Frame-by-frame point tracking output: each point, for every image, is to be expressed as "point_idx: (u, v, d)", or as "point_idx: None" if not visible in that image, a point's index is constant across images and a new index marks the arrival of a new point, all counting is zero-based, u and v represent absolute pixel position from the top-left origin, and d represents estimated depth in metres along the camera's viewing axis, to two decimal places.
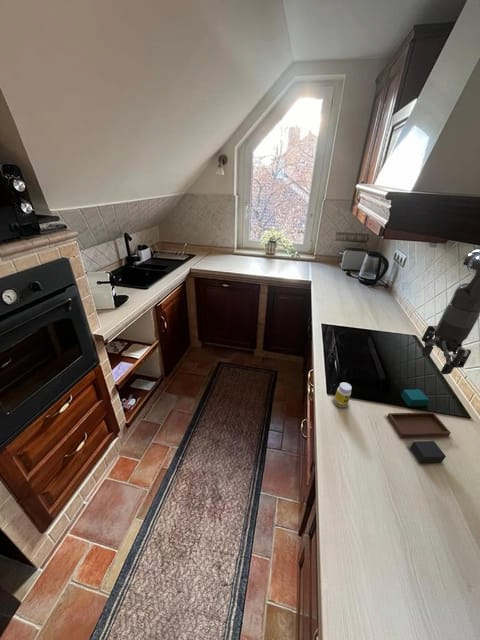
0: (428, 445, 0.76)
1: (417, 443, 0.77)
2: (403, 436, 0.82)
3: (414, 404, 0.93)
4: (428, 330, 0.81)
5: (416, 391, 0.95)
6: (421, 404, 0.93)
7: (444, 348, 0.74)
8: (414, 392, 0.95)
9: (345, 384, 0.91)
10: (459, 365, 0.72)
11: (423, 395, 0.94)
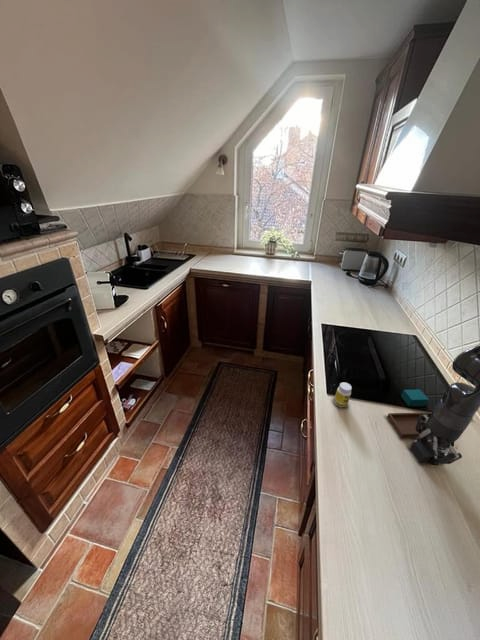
0: (428, 445, 0.76)
1: (417, 443, 0.77)
2: (403, 436, 0.82)
3: (414, 404, 0.93)
4: (420, 419, 0.77)
5: (416, 391, 0.95)
6: (421, 404, 0.93)
7: (435, 443, 0.71)
8: (414, 392, 0.95)
9: (345, 384, 0.91)
10: (446, 462, 0.70)
11: (423, 395, 0.94)
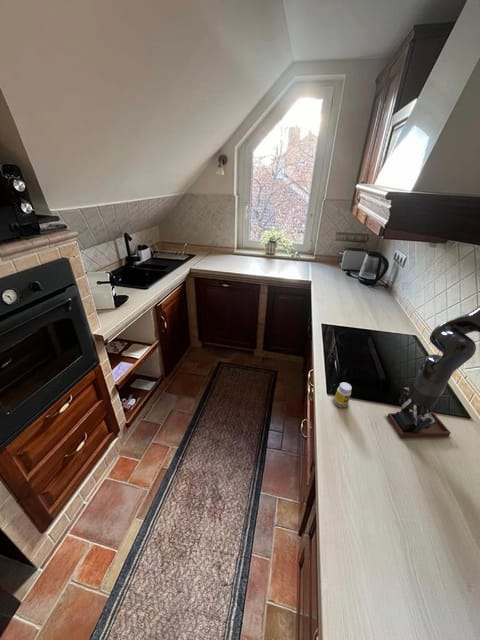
0: (409, 415, 0.84)
1: (400, 413, 0.85)
2: (403, 436, 0.82)
3: None
4: (402, 392, 0.85)
5: None
6: None
7: (414, 410, 0.79)
8: None
9: (345, 384, 0.91)
10: (424, 428, 0.77)
11: None
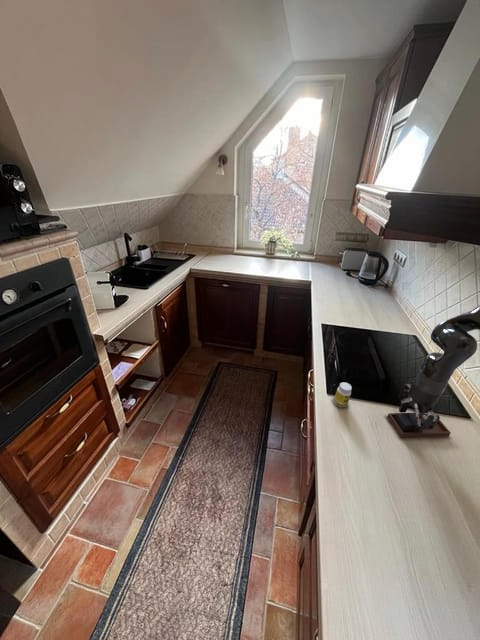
0: (409, 416, 0.84)
1: (399, 414, 0.85)
2: (403, 436, 0.82)
3: None
4: (403, 388, 0.85)
5: None
6: None
7: (416, 409, 0.78)
8: None
9: (345, 384, 0.91)
10: (429, 428, 0.76)
11: None
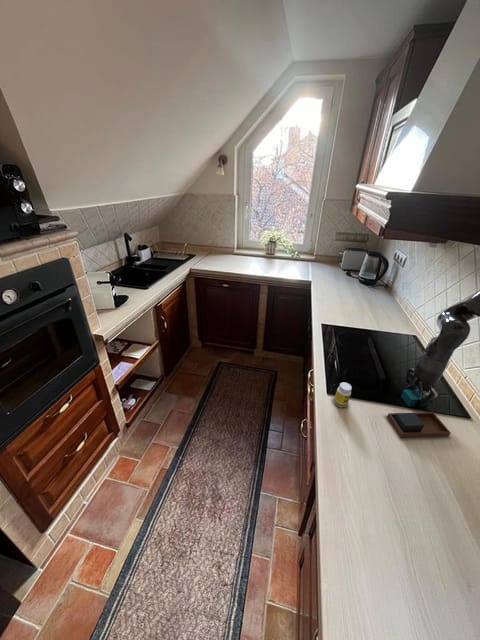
0: (409, 416, 0.84)
1: (399, 414, 0.85)
2: (403, 436, 0.82)
3: (414, 404, 0.93)
4: (408, 372, 0.96)
5: (416, 391, 0.95)
6: None
7: (420, 387, 0.90)
8: (414, 392, 0.95)
9: (345, 384, 0.91)
10: (428, 402, 0.88)
11: (423, 395, 0.94)
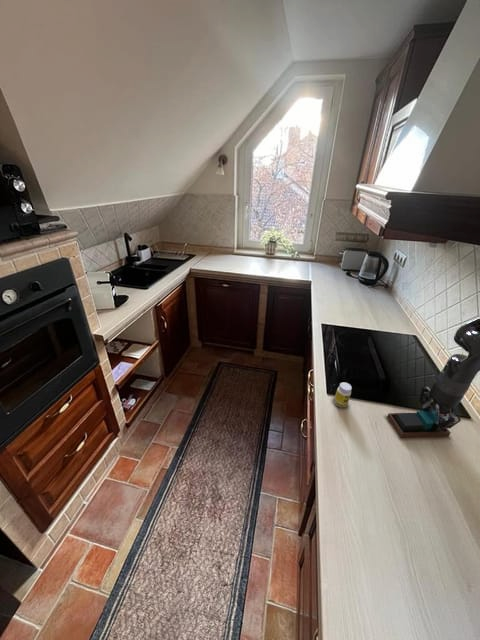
0: (409, 416, 0.84)
1: (399, 414, 0.85)
2: (403, 436, 0.82)
3: (429, 428, 0.83)
4: (423, 391, 0.86)
5: (431, 413, 0.85)
6: None
7: (437, 410, 0.79)
8: (429, 414, 0.84)
9: (345, 384, 0.91)
10: (447, 427, 0.78)
11: None
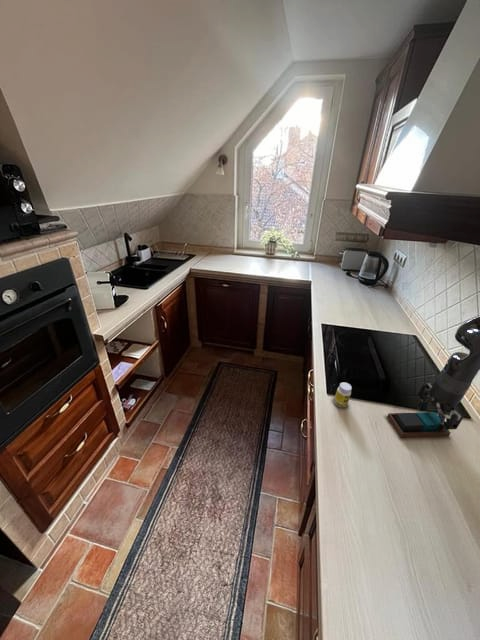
0: (409, 416, 0.84)
1: (399, 414, 0.85)
2: (403, 436, 0.82)
3: (429, 430, 0.83)
4: (424, 387, 0.85)
5: (431, 414, 0.85)
6: None
7: (439, 409, 0.79)
8: (428, 416, 0.85)
9: (345, 384, 0.91)
10: (452, 427, 0.76)
11: (439, 419, 0.84)
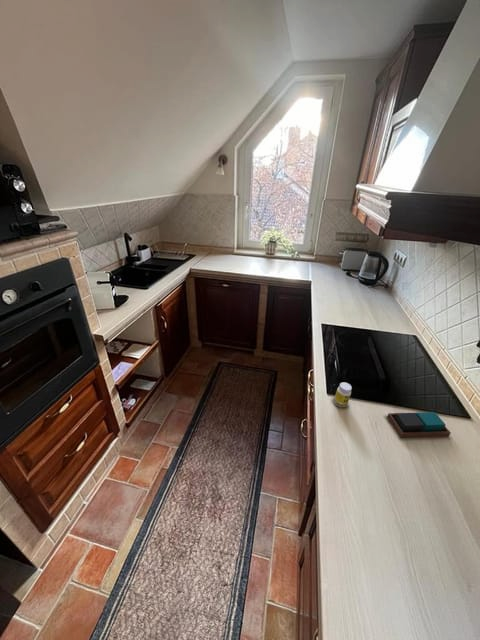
0: (409, 416, 0.84)
1: (399, 414, 0.85)
2: (403, 436, 0.82)
3: (429, 430, 0.83)
4: None
5: (431, 414, 0.85)
6: (437, 429, 0.83)
7: None
8: (428, 416, 0.85)
9: (345, 384, 0.91)
10: None
11: (439, 419, 0.84)
